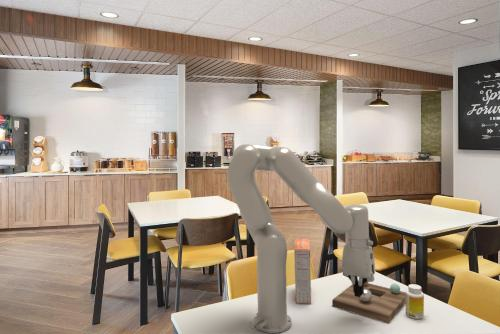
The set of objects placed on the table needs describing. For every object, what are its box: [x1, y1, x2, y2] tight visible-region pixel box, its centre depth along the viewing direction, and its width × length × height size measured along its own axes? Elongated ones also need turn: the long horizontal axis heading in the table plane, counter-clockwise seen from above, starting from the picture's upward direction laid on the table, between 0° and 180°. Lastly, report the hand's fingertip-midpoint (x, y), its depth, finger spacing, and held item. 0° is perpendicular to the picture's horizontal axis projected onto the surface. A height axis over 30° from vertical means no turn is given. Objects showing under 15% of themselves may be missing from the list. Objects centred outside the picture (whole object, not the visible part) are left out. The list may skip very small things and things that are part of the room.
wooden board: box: [331, 280, 406, 324], centre depth 131 cm, size 22×20×2 cm
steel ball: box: [359, 289, 372, 302], centre depth 126 cm, size 4×4×4 cm
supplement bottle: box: [405, 283, 425, 320], centre depth 120 cm, size 6×6×10 cm
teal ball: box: [389, 283, 401, 293], centre depth 133 cm, size 4×4×4 cm
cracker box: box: [293, 238, 312, 305], centre depth 137 cm, size 14×6×21 cm, turn 172°
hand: (358, 295), depth 120 cm, fingers closed
